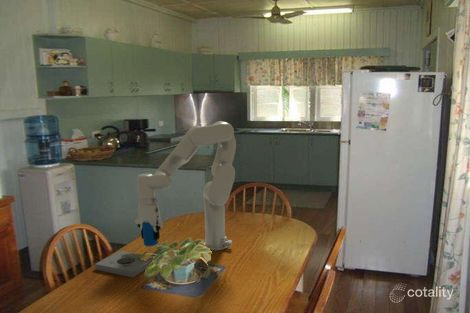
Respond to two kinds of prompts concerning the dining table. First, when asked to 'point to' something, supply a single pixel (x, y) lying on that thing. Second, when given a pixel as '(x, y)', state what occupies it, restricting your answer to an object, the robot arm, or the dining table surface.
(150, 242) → the beverage can
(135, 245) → the dining table surface
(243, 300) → the dining table surface
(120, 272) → the socket board
